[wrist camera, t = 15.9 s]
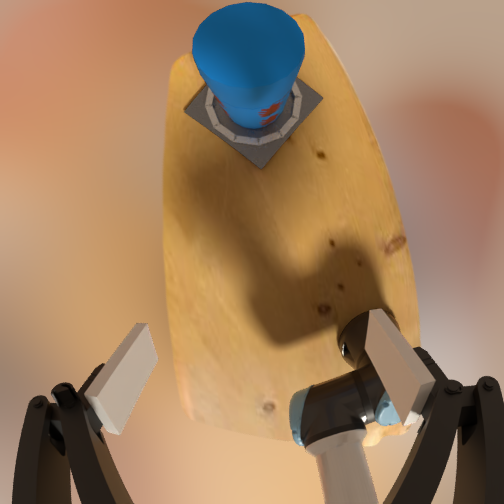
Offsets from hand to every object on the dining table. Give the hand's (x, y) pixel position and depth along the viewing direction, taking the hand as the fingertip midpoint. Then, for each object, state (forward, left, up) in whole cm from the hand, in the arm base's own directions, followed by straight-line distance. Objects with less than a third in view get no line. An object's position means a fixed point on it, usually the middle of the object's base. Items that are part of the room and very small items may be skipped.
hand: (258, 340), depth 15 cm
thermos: (+14, -16, -36) cm, 42 cm away
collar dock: (+15, -16, -37) cm, 43 cm away
